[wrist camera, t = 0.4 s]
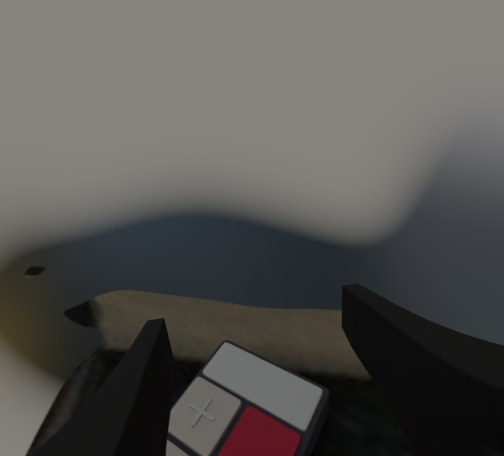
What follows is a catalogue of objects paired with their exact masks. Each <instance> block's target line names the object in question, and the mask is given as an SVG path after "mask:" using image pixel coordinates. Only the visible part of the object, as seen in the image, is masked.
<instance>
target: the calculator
mask: <svg viewBox="0 0 504 456" xmlns="http://www.w3.org/2000/svg"><path fill="white" fill-rule="evenodd" d="M328 407H329V391H328V389H327V388H325V387H323V386H321V385H319V384H317V383H315V382H313V381H311V380H309V379H307V378H305V377H303V376H301V375H299V374H296V373H294V372H292V371H290V370H288V369H286V368H284V367H282V366H280V365H278V364H276V363H274V362H272V361H270V360H268V359H266V358H263V357H261V356H259V355H257V354H255V353H253V352H251V351H249V350H247V349H245V348H243V347H241V346H239V345H237V344H235V343H233V342H230V341H228V340H225V341H223V342H222V343H221V344H220V345H219V347H218V348H217V349H216V351H215V352H214V353H213V354H212V356H211V357H210V358H209V360H208V361H207V362H206V364H205V365H204V366H203V367H202V369H201V370H200V371H199V373H198V374H197V375H196V376H195V378H194V379H193V380H192V382H191V383H190V384H189V385H188V387H187V388H186V389H185V391H184V392H183V393H182V394H181V396H180V397H179V398H178V400H177V401H176V402H175V403H174V405H173V406H172V407H171V413H170V421H169V429H168V437H167V446H166V456H311V454H312V452H313V450H314V447H315V445H316V443H317V440H318V438H319V435H320V433H321V430H322V428H323V426H324V423H325V421H326V418H327V416H328Z"/></svg>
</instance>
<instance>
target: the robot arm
mask: <svg viewBox="0 0 504 456" xmlns="http://www.w3.org/2000/svg"><path fill="white" fill-rule="evenodd" d="M342 328H343V330H344V332H345V334H346V337H347V339H348V341H349V343H350V345H351V347H352V349H353V350H354V352H355V353H356V355H357V356H358V358H359V359H360V361H361V363H362V364H363V366H364V367H365V369H366V370H367V372H368V373H369V375H370V376H371V378H372V379H373V381H374V382H375V384H376V385H377V387H378V388H379V390H380V391H381V393H382V394H383V396H384V398H385V399H386V401H387V402H388V404H389V406H390V408H391V409H392V411H393V413H394V415H395V417H396V419H397V421H398V423H399V425H400V426H401V428H402V430H403V432H404V434H405V436H406V438H407V440H408V442H409V444H410V446H411V448H412V450H413V452H414V454H415V456H504V346H503V345H499V344H495V343H491V342H488V341H484V340H481V339H478V338H475V337H472V336H469V335H465V334H462V333H460V332H457V331H454V330H451V329H449V328H446V327H444V326H441V325H438V324H436V323H434V322H431V321H429V320H427V319H425V318H422V317H420V316H418V315H416V314H413V313H412V312H410V311H408V310H406V309H404V308H402V307H400V306H398V305H396V304H394V303H392V302H390V301H388V300H386V299H385V298H383V297H381V296H379V295H378V294H376V293H374V292H372V291H370V290H368V289H367V288H365V287H363V286H361V285H359V284H350V285H345V286H342ZM173 387H174V358H173V353H172V349H171V345H170V341H169V337H168V333H167V328H166V324H165V320H164V318H161V319H155V320H149V321H147V322H146V324H145V325H144V327H143V328H142V330H141V332H140V333H139V335H138V336H137V338H136V340H135V341H134V343H133V344H132V346H131V347H130V349H129V350H128V352H127V353H126V354H125V356H124V357H123V359H122V360H121V362H120V363H119V364H118V366H117V367H116V368H115V370H114V371H113V372H112V374H111V375H110V376H109V378H108V379H107V380H106V381H105V383H104V384H103V385H102V386H101V388H100V389H99V390H98V391H97V392H96V393H95V395H94V396H93V397H92V398H91V399H90V400H89V401H88V402H87V403H86V404H85V406H84V407H83V408H82V409H81V410H80V411H79V412H78V413H76V414H75V415H74V416H73V417H72V418H71V419H70V420H69V421H68V422H67V423H66V424H65V425H64V426H63V427H62V428H61V429H60V430H59V431H58V432H57V433H56V434H54V435H53V436H52V437H51V438H50V439H49V440H48V441H47V442H45V443H44V444H43V445H42V446H41V447H39V448H38V449H37V450H36V451H35V452H33V453H32V454H31V455H30V456H166V446H167V437H168V429H169V421H170V413H171V405H172V396H173Z"/></svg>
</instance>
